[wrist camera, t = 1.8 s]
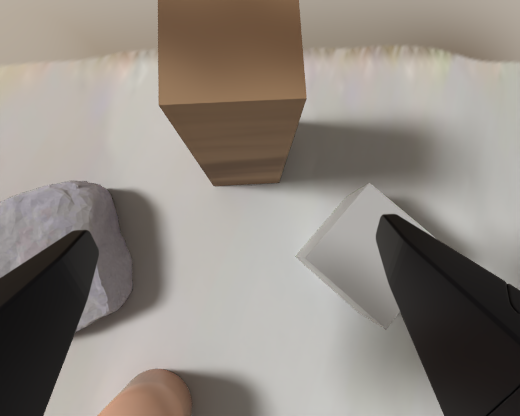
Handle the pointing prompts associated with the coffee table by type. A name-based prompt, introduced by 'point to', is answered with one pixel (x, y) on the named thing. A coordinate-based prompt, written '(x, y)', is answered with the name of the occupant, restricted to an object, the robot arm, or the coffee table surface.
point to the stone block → (60, 224)
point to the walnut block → (233, 83)
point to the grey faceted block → (355, 254)
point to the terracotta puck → (152, 396)
